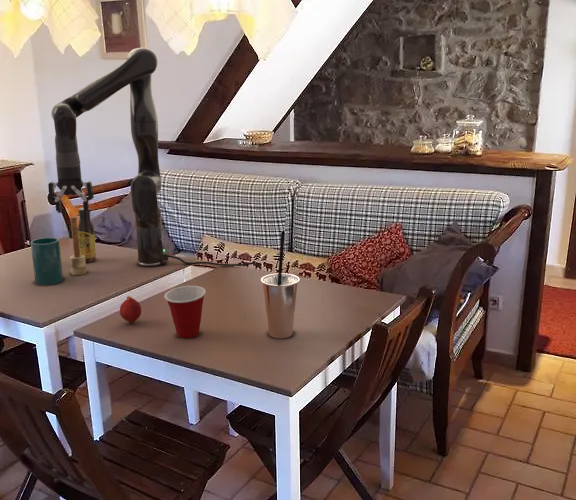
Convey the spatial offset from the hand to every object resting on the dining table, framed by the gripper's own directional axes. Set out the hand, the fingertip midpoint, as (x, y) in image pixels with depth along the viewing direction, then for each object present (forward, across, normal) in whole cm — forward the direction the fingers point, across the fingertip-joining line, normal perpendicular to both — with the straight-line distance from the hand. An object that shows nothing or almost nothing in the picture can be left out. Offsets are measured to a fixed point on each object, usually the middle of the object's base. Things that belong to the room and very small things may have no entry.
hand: (72, 212), depth 218 cm
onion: (+22, +25, -49) cm, 59 cm away
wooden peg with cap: (+22, 0, 0) cm, 22 cm away
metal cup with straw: (+21, +66, -62) cm, 93 cm away
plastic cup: (+22, +41, -59) cm, 75 cm away
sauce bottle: (+22, 0, +15) cm, 26 cm away
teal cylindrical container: (+22, -8, -8) cm, 25 cm away
